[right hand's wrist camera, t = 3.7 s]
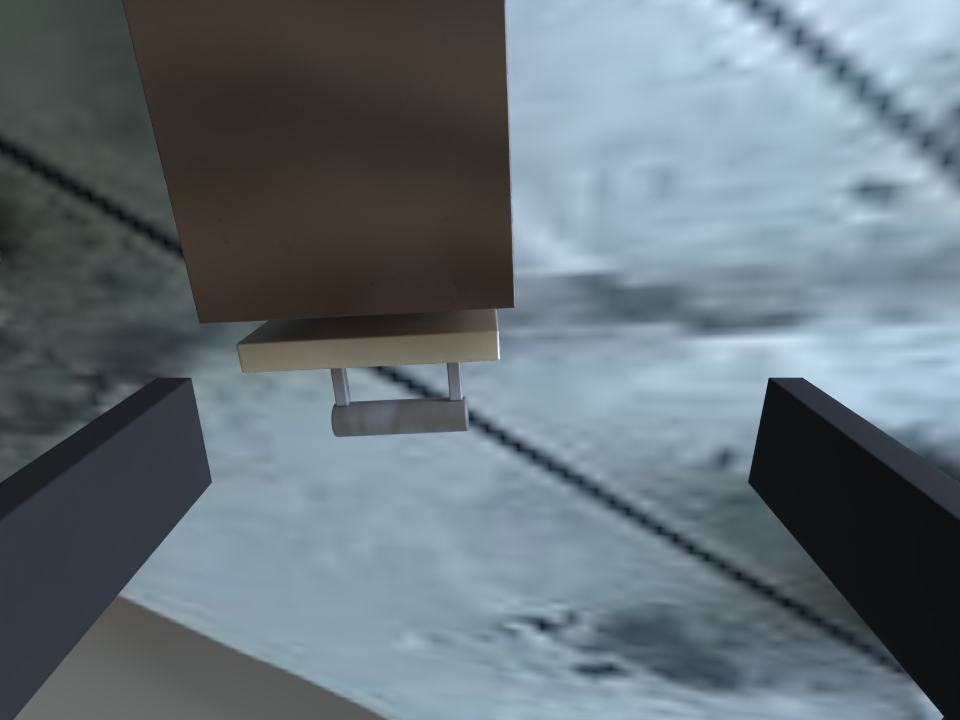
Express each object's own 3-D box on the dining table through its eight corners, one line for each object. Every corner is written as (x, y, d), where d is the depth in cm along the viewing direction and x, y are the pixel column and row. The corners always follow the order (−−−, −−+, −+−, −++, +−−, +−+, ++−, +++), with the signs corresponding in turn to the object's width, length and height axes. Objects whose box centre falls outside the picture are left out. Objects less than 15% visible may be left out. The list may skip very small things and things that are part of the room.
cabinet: (503, 253, 30) (515, 308, 19) (304, 264, 30) (199, 324, 19) (482, -273, 22) (482, -706, 11) (219, -253, 23) (-37, -658, 12)
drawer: (498, 390, 32) (505, 484, 22) (330, 398, 32) (268, 495, 23) (472, -174, 23) (466, -407, 14) (240, -158, 23) (77, -376, 14)
